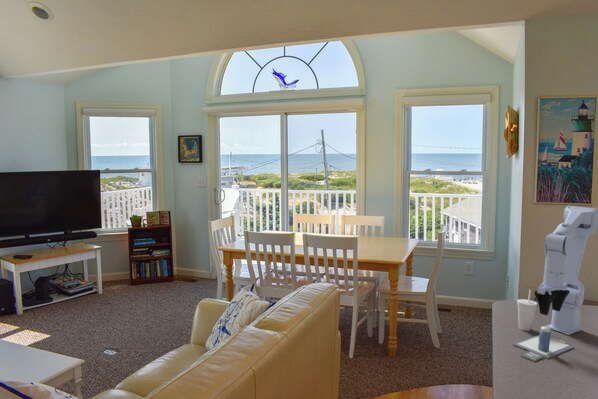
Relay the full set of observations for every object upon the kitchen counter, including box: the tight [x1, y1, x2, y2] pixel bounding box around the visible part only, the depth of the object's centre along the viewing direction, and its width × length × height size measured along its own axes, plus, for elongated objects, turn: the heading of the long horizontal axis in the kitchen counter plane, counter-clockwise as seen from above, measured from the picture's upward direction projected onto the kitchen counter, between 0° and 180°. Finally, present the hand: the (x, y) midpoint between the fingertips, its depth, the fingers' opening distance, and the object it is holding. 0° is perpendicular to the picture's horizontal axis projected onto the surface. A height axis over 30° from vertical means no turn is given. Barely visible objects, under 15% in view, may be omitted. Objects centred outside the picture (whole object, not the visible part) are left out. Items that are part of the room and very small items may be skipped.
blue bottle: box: [538, 325, 552, 352], centre depth 141 cm, size 3×3×7 cm
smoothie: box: [516, 289, 538, 332], centre depth 159 cm, size 6×6×14 cm
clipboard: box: [512, 333, 575, 360], centre depth 145 cm, size 16×11×1 cm
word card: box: [520, 351, 544, 362], centre depth 137 cm, size 5×4×1 cm
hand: (550, 312), depth 148 cm, fingers open, 7 cm apart
